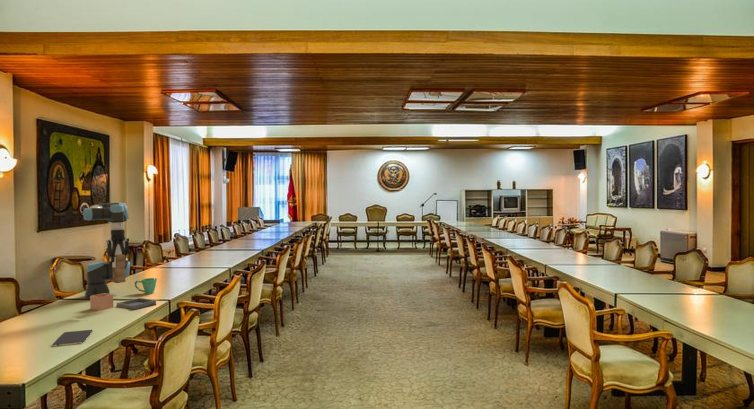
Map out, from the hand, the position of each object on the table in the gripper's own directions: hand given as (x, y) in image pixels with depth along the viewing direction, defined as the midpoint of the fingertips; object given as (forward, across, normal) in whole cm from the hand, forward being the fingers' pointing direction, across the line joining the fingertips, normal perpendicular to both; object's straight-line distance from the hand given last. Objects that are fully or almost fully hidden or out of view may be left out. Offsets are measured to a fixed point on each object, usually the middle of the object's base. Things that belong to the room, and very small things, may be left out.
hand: (118, 266), depth 303 cm
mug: (+26, +35, +26) cm, 50 cm away
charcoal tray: (+26, +8, -5) cm, 28 cm away
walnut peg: (+10, 0, 0) cm, 10 cm away
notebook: (+27, -48, -40) cm, 68 cm away
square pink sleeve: (+26, -8, +6) cm, 28 cm away
